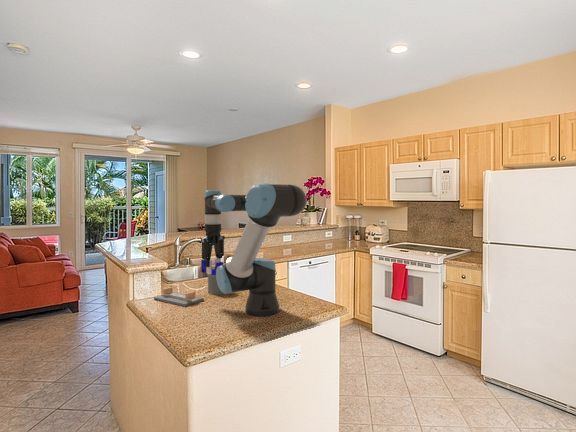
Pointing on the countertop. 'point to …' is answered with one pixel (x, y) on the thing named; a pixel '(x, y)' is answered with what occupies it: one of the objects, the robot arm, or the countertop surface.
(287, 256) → the countertop surface
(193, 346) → the countertop surface
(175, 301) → the rail mount
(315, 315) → the countertop surface
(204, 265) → the cable clip
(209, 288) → the coffee mug
